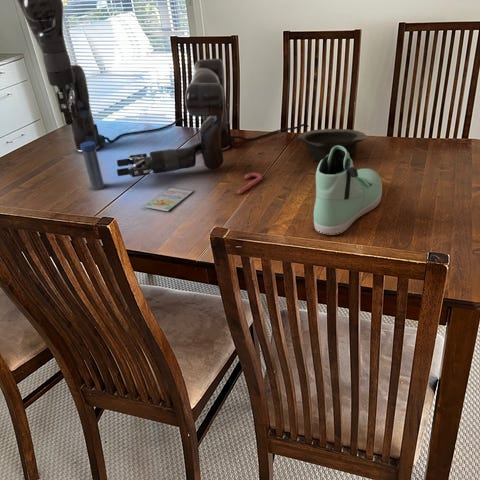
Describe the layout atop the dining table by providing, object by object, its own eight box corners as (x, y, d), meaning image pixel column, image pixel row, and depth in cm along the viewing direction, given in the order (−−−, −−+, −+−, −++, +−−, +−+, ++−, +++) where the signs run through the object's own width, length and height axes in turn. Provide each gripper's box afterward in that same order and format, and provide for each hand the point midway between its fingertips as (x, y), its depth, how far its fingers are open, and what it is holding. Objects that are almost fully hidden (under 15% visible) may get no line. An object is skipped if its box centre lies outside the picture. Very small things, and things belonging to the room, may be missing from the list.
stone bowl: (324, 173, 160) (323, 146, 156) (284, 156, 180) (283, 132, 176) (382, 155, 169) (382, 129, 165) (338, 140, 189) (337, 117, 185)
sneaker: (389, 187, 148) (396, 123, 138) (356, 242, 123) (361, 168, 112) (346, 181, 154) (350, 119, 144) (306, 232, 129) (307, 161, 118)
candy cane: (225, 192, 154) (224, 187, 153) (251, 174, 164) (250, 170, 163) (240, 195, 151) (240, 191, 150) (265, 177, 161) (265, 173, 160)
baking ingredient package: (143, 206, 148) (170, 186, 159) (143, 207, 148) (170, 188, 159) (167, 210, 144) (192, 190, 156) (167, 211, 144) (193, 191, 156)
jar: (89, 187, 165) (78, 145, 157) (100, 183, 167) (90, 141, 159) (95, 191, 162) (85, 148, 154) (106, 186, 164) (97, 144, 156)
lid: (78, 149, 157) (77, 144, 157) (91, 145, 160) (90, 140, 159) (85, 152, 154) (84, 147, 153) (98, 148, 157) (97, 143, 156)
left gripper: (49, 64, 150) (63, 115, 158) (41, 73, 137) (56, 128, 146) (74, 62, 150) (86, 113, 159) (68, 70, 138) (81, 125, 146)
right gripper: (161, 143, 169) (114, 150, 166) (165, 158, 157) (115, 165, 154) (164, 163, 173) (119, 170, 170) (168, 179, 161) (119, 186, 158)
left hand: (71, 120), depth 152 cm, fingers open, 8 cm apart
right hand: (117, 168), depth 162 cm, fingers open, 8 cm apart
